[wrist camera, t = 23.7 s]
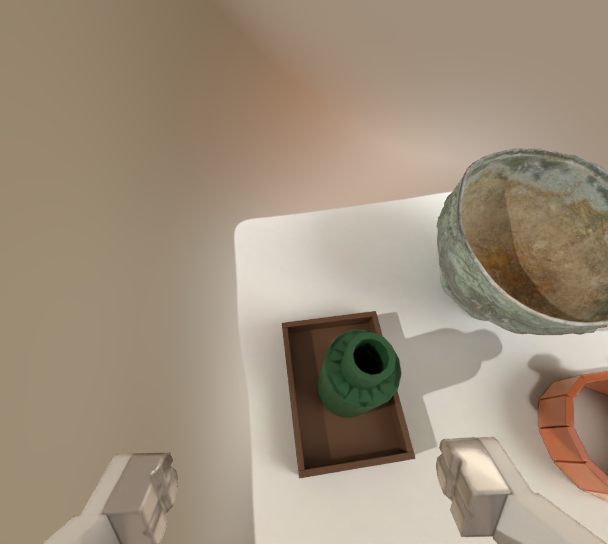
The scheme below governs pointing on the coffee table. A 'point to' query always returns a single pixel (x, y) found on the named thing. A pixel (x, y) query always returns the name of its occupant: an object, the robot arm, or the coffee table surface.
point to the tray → (324, 424)
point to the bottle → (358, 373)
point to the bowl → (528, 242)
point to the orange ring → (571, 431)
